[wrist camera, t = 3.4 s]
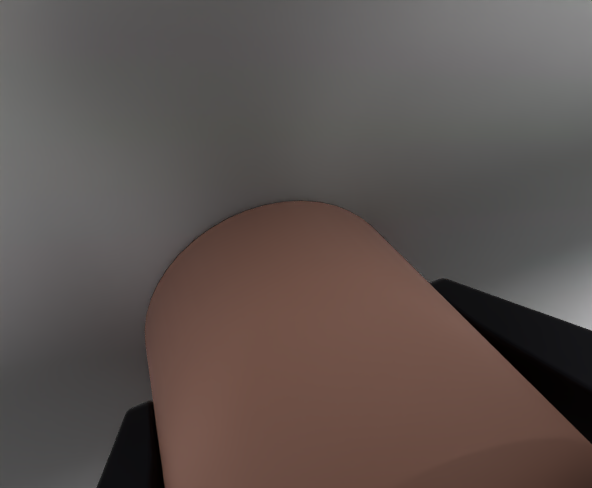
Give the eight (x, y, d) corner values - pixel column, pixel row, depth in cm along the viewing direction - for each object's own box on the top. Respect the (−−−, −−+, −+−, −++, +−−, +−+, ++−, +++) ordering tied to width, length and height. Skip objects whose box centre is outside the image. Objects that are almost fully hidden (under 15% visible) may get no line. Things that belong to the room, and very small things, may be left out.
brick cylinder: (402, 354, 11) (576, 580, 7) (196, 446, 10) (263, 762, 6) (382, 161, 8) (651, 357, 4) (95, 265, 7) (98, 633, 3)
